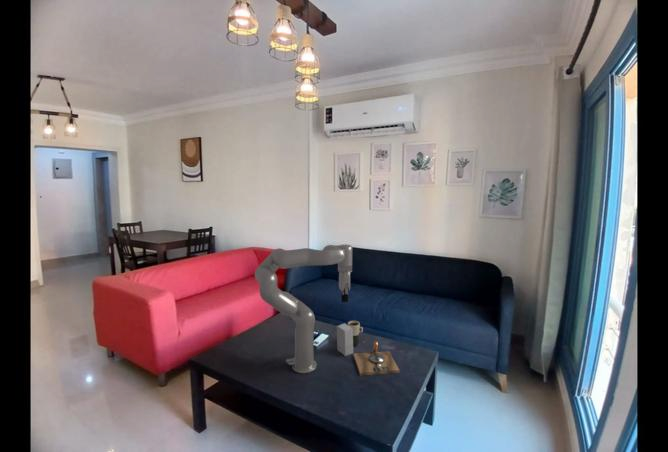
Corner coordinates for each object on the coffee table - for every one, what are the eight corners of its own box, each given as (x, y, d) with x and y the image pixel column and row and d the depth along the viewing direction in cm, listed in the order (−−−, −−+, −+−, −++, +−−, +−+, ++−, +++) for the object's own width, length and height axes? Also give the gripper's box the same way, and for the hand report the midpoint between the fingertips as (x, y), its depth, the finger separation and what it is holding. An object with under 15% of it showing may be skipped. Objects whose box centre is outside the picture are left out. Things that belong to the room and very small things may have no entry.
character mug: (363, 342, 187) (364, 321, 185) (361, 348, 180) (361, 326, 179) (345, 340, 190) (346, 319, 188) (343, 345, 183) (343, 324, 181)
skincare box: (353, 353, 175) (353, 328, 173) (344, 356, 172) (345, 330, 170) (344, 347, 182) (345, 322, 180) (336, 350, 178) (336, 325, 177)
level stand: (360, 375, 155) (360, 372, 154) (353, 356, 172) (353, 352, 172) (399, 372, 157) (399, 369, 157) (388, 353, 175) (388, 350, 174)
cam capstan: (387, 370, 156) (387, 358, 155) (371, 370, 156) (371, 358, 155) (382, 351, 174) (382, 341, 173) (368, 351, 174) (368, 340, 173)
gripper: (336, 264, 173) (335, 296, 175) (340, 272, 158) (339, 307, 161) (349, 264, 174) (349, 296, 176) (354, 271, 159) (354, 306, 162)
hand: (344, 301), depth 169 cm, fingers closed
